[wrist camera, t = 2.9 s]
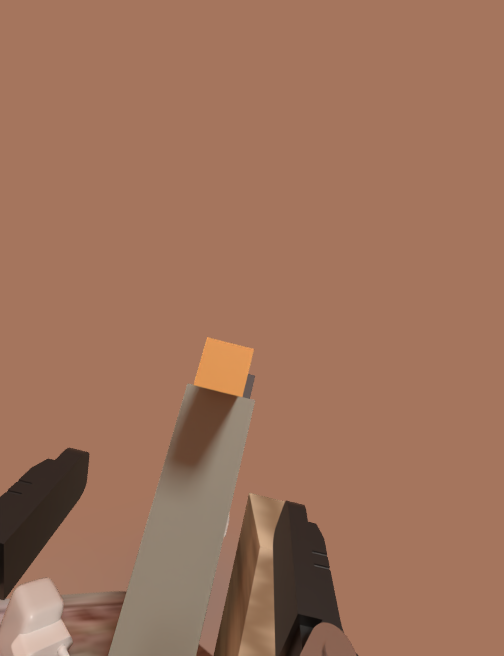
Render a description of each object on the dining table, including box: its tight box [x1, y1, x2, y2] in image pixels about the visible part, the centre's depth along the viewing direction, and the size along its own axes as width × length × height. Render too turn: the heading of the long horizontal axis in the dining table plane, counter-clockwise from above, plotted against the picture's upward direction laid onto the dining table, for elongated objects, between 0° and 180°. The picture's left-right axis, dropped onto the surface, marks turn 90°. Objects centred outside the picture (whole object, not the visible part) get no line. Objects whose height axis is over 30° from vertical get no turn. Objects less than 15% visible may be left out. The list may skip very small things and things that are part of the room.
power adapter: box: [0, 577, 73, 656], centre depth 29 cm, size 11×5×6 cm, turn 53°
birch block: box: [214, 493, 285, 656], centre depth 25 cm, size 5×12×22 cm, turn 5°
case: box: [108, 374, 255, 656], centre depth 31 cm, size 7×13×34 cm, turn 5°
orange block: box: [194, 337, 254, 397], centre depth 31 cm, size 4×22×4 cm, turn 5°
